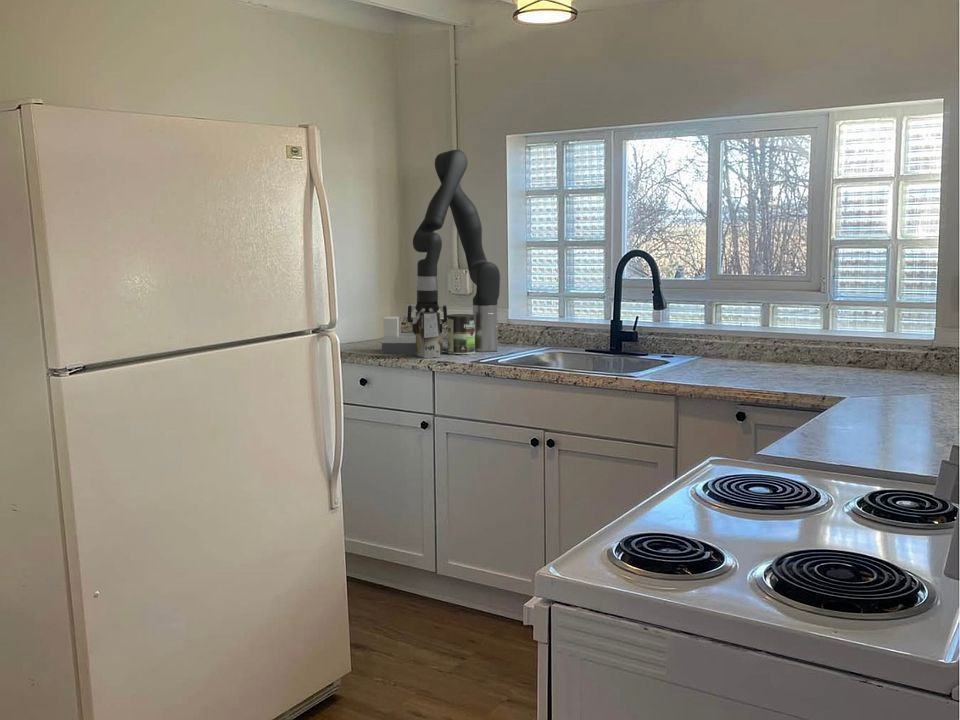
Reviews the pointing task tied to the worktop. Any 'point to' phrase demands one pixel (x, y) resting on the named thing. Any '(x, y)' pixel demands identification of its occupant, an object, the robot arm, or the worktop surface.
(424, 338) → the coffee box
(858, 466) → the worktop surface
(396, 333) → the block
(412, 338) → the rail
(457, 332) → the coffee can
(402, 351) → the rail base
